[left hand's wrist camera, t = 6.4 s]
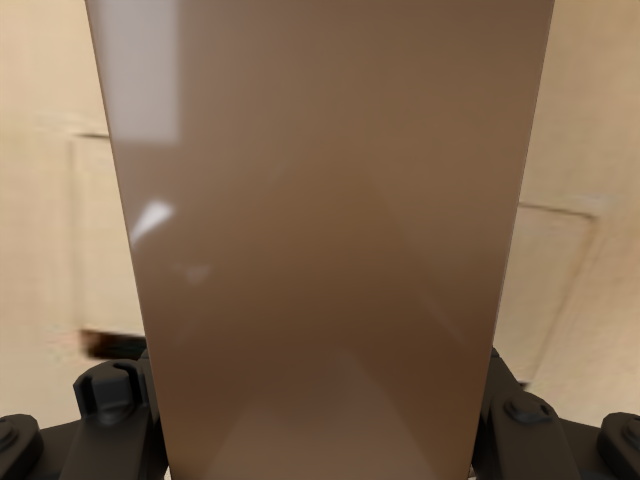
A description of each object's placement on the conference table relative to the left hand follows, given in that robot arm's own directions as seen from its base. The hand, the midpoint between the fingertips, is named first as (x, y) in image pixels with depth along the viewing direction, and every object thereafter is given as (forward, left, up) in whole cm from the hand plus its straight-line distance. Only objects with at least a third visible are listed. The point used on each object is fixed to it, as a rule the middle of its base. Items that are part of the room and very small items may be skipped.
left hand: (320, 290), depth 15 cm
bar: (+6, +6, -1) cm, 8 cm away
